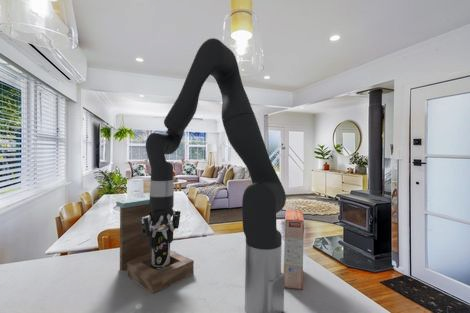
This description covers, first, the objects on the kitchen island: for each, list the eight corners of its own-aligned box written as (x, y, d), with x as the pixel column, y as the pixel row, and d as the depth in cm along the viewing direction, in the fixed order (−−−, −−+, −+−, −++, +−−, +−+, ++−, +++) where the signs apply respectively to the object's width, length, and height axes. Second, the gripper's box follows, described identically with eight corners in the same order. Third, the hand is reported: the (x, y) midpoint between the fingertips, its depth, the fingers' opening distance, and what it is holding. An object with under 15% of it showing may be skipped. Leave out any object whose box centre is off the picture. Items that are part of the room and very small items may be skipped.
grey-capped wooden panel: (164, 258, 92) (165, 197, 91) (122, 274, 79) (123, 203, 79) (157, 255, 95) (157, 195, 95) (115, 270, 82) (116, 201, 82)
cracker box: (303, 290, 71) (304, 220, 71) (282, 288, 73) (284, 218, 73) (301, 269, 85) (302, 209, 85) (284, 266, 86) (285, 208, 86)
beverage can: (150, 269, 76) (150, 231, 76) (152, 261, 82) (153, 226, 82) (169, 267, 77) (169, 230, 77) (170, 260, 83) (170, 225, 83)
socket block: (193, 273, 80) (193, 260, 80) (153, 293, 69) (153, 278, 69) (166, 260, 90) (166, 248, 90) (127, 276, 78) (127, 262, 78)
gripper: (148, 198, 71) (147, 255, 71) (186, 192, 82) (185, 241, 83) (135, 195, 76) (134, 248, 76) (173, 190, 87) (172, 236, 87)
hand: (161, 244), depth 79 cm, fingers closed on beverage can, 5 cm apart
